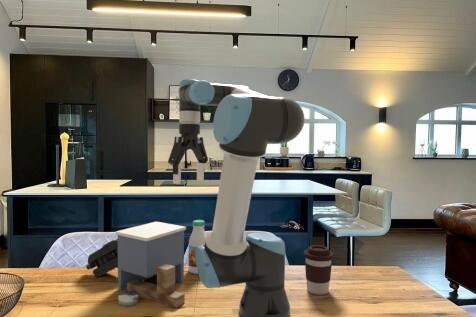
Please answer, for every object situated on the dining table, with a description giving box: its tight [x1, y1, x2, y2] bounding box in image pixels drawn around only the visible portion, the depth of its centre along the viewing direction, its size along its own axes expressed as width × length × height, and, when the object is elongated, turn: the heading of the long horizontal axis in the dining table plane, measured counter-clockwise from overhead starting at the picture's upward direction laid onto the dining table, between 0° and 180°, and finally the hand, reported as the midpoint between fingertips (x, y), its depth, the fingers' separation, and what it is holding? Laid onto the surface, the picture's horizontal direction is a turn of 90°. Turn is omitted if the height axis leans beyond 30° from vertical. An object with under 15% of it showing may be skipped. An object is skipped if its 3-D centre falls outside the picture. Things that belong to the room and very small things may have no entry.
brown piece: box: [126, 264, 186, 309], centre depth 116 cm, size 22×4×11 cm, turn 58°
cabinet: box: [115, 221, 187, 291], centre depth 126 cm, size 15×19×20 cm
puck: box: [117, 290, 139, 308], centre depth 112 cm, size 6×6×3 cm
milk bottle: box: [187, 219, 207, 275], centre depth 140 cm, size 8×8×20 cm
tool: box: [85, 238, 118, 278], centre depth 135 cm, size 6×19×15 cm, turn 78°
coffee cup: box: [303, 244, 334, 296], centre depth 123 cm, size 10×10×15 cm
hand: (189, 182), depth 130 cm, fingers open, 13 cm apart
